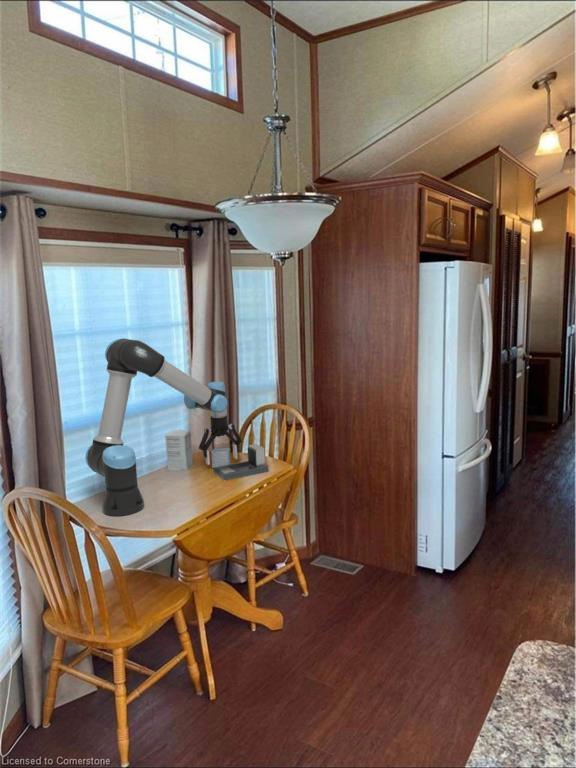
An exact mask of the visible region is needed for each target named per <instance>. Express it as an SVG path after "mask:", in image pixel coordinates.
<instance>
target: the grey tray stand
mask: <svg viewBox="0 0 576 768" xmlns="http://www.w3.org/2000/svg"><path fill="white" fill-rule="evenodd" d="M247 446H248V447H247V459H248V460H246V461H241V462H235V463H231V464H229V465H224V466H219V467H214V469H213V473H215V475H216V474H217V475H218V476H219V477H218V476H217V475H216V476H217V477H218V478H220V477H221V478H222V479H221V478H220V479H221V480H223V481H224V480H226V481H229V480H228V479H231V480H234V479H233V478H236V479H239V478H238V477H240V478H243V476H245V477H249V475H250V476H254V475H259V474H264V473H267V472H269V466H268V465H267V464H265V463H266V461H265V460H266V459H265V447H263V446H261V445H259V444H257V443H254V444H249V445H247Z"/></svg>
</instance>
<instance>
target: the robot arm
mask: <svg viewBox="0 0 576 768" xmlns="http://www.w3.org/2000/svg"><path fill="white" fill-rule="evenodd" d="M104 353H105V354H104V355H105V356H104V357H105V360H106V362H107V365H106V372H107V373H108V375H109V376H108V382H107V386H106V387H107V388H106V392H105V398H104V403H103V408H102V414H101V419H100V424H99V429H98V434H97V435H96V436H95V437H93V439H92V444H91V445H90V446H89V447H88V448H87V450H86V452H85V463H86V465H87V466H88V468H90V470H91V471H92V472H94V473H96V474H98V475H100V476H102V477H104V484H105V495H104V498H103V503H102V512H103V514H104V515H106V516H111V517H123V516H129V515H132V514H135V513H138V512H139V511H142V510H143V509H144V507H145V500H144V497H143V496H142V493H141V491H140V488H139V485H138V473H137V472H138V471H137V458H136V457H137V456H136V454H135V450H134V449H133V448H132V447H130V446H128V445H124V444H125V442H124V440H122V432H123V426H124V423H125V417H126V416H125V415H126V411H127V406H128V401H129V395H130V390H131V385H132V380H133V379H134V378H136V376H138V375H137V373H138V372H139V373H142V374H145V375H146V376H148V377H149V378H156V379H158V380H160V381H161V382H163V383H164V384H165V385H168V386H169V387H171V388H173V389H174V390H176V391H177V392H179V393H181V394H183V395H184V396H183V402H184V405H185V407H186V408H187V409H188V410H193V409H194V410H195V409H202V410H206V411H209V416H210V428H209V427H205V428H204V433H203V435H202V438H201V441H200V444H199V446H198V449H199V450H200V451H202V452H203V457H204V458H205V463H206V465H208V466H209V465H210V464H211V463H210V452H209V448H210V446H211V445H212V443H213V442H214V440H215V439H216V438H217V437H218V438H219V437H223V436H226V437H227V438H228V439H229V440H230V441H232V455H233V459H235V460H237V459H238V452H239V445H240V444H241V443H242V442H243V440H242V438H241V437H240V436H239V433H238V431H237V430H236V427H235V424H233V423H229V421H228V416H227V415H228V411H227V409H228V408H227V407H228V402H229V401H228V399H227V395H226V394H227V392H226V385H225V383H224V382H223V381H212V382H209V383H208V384H207V386H206V385H204V384H202V382H199V381H198V380H197V379H195V378H193V377H191V376H190V375H188V374H187V373H185V372H184V371H182V370H181V369H179V368H177V367H176V366H175V365H173V364H172V363H171V362H168V360H166V358H165V356H164V355H163V354H161V353H160V352H158V351H157V350H156V349H154V348H153V347H151V346H150V345H148V344H146V343H145V342H143V341H141V340H138V339H129V338H117V339H114V340H112V341H111V342H110V343H109V344H107V346H106V348H105V352H104ZM228 423H229V424H228ZM228 430H231V432H232V434H233V435H231V433H230V432H228ZM209 435H210V436H209ZM233 436H234V437H233ZM208 437H209V438H208Z"/></svg>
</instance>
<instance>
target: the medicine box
mask: <svg viewBox="0 0 576 768" xmlns="http://www.w3.org/2000/svg"><path fill="white" fill-rule="evenodd" d="M210 453H211V466H212V468H214V467H219V466H224V465H229V464H232V463H231V462H232V461H231V458H232V457H231V448H229V447H227V448H226V447H224V448H223V447H221V448H218V447H216V448H213V449H212V450H211V452H210Z"/></svg>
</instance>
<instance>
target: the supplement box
mask: <svg viewBox="0 0 576 768" xmlns="http://www.w3.org/2000/svg"><path fill="white" fill-rule="evenodd" d="M191 433H192V432H191V430H190V429H189V430H186V429H184V430H183V429H182V430H179V429H175V430H174V429H173V430H171V431H170V432H168V433H167V434H166V435H164V437H165V439H164V440H165V449H166V463H167V471H169V472H172V471H173V472H175V471H178V472H187V471H188V470H190V468H191V467H192V466H193V465H194V464H193V463H194V462H193V461H194V460H193V449H192V434H191ZM186 470H187V471H186Z"/></svg>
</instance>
